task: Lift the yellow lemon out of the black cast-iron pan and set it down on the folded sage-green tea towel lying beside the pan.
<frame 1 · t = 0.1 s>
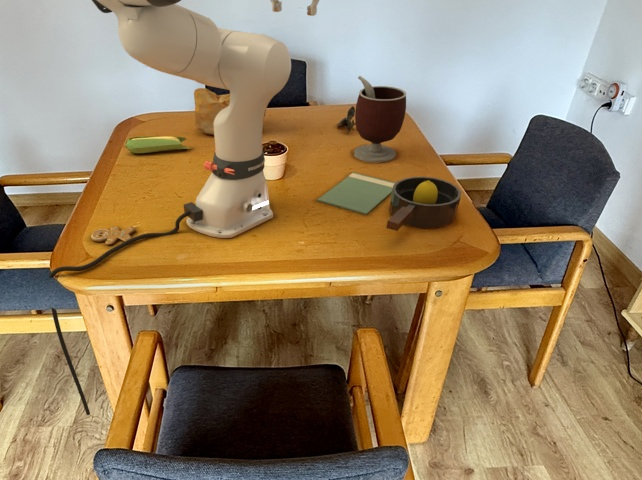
hand: (294, 13, 122), 39 cm above the table, tool pointing down, fingers open, 8 cm apart
edible corn: (159, 152, 164), on the table
pan: (421, 213, 130), on the table
rough brown rock: (232, 129, 177), on the table
tea towel: (359, 193, 139), on the table
cookie: (113, 237, 125), on the table
mate gourd: (372, 154, 159), on the table
eagle figurine: (347, 130, 174), on the table
lemon: (421, 212, 130), resting on pan
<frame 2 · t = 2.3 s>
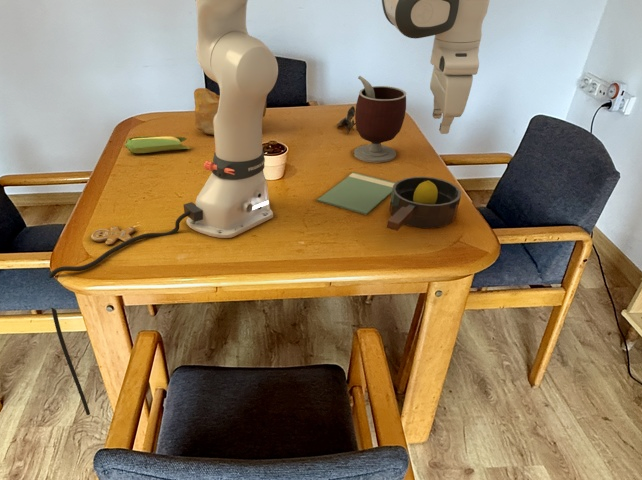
hand: (440, 125, 116), 21 cm above the table, tool pointing down, fingers open, 8 cm apart
nothing on the table moved.
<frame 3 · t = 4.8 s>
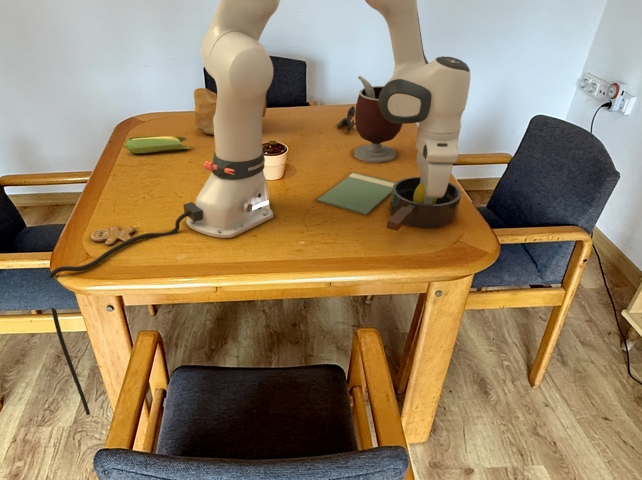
hand: (424, 198, 128), 4 cm above the table, tool pointing down, fingers closed on lemon, 5 cm apart
lemon: (421, 212, 130), resting on pan, touching gripper
everything else where it was.
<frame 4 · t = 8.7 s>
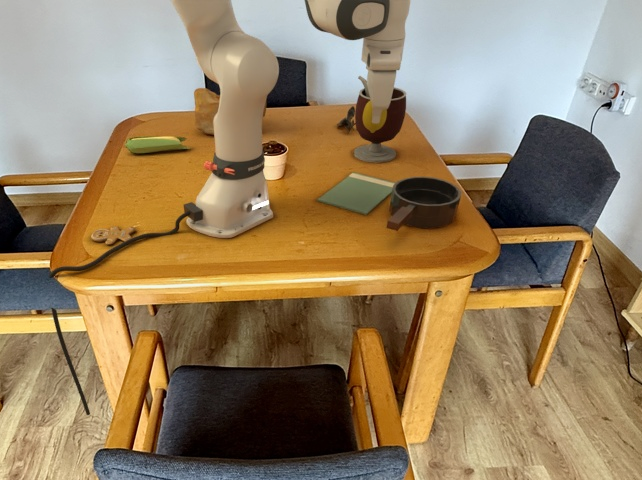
hand: (374, 117, 125), 19 cm above the table, tool pointing down, fingers closed on lemon, 5 cm apart
lemon: (372, 133, 128), point 16 cm above the table, touching gripper
everything else where it was.
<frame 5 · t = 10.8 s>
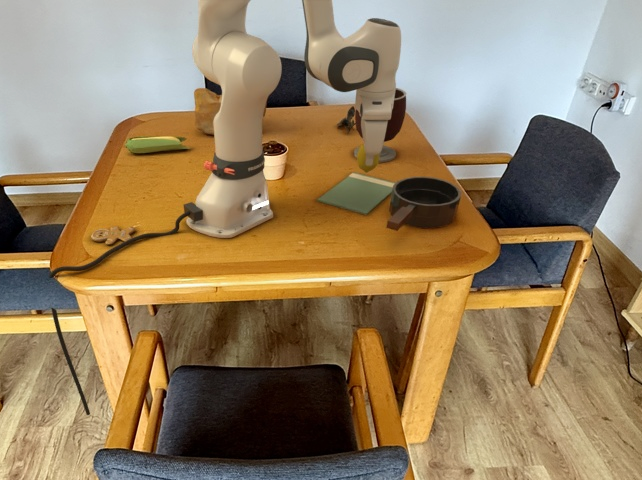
hand: (367, 159, 133), 9 cm above the table, tool pointing down, fingers closed on lemon, 5 cm apart
lemon: (366, 173, 135), point 6 cm above the table, touching gripper
everything else where it was.
when the fingers open (4 cm above the table, at t = 12.6 s): lemon stays where it is, resting on tea towel.
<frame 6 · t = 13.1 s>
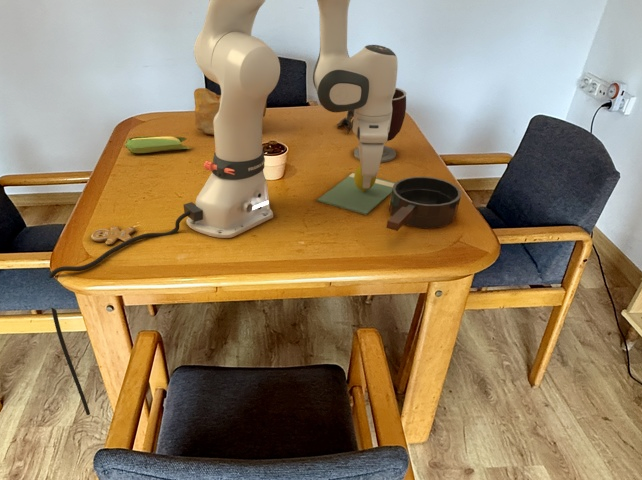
hand: (364, 179, 136), 4 cm above the table, tool pointing down, fingers open, 8 cm apart
lemon: (363, 192, 139), resting on tea towel
everything else where it was.
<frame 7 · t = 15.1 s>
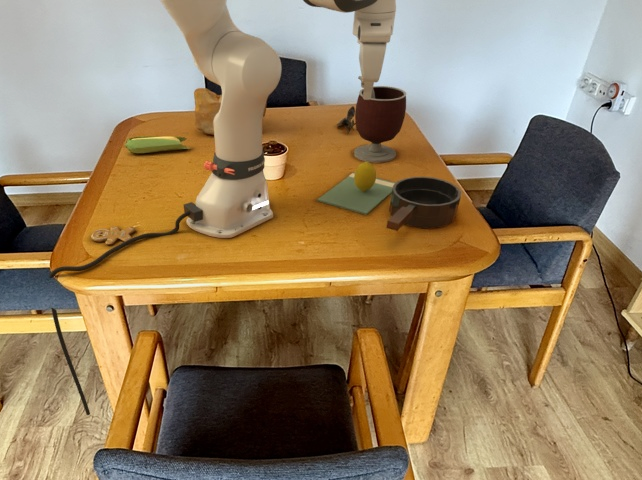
hand: (365, 92, 126), 24 cm above the table, tool pointing down, fingers open, 8 cm apart
nothing on the table moved.
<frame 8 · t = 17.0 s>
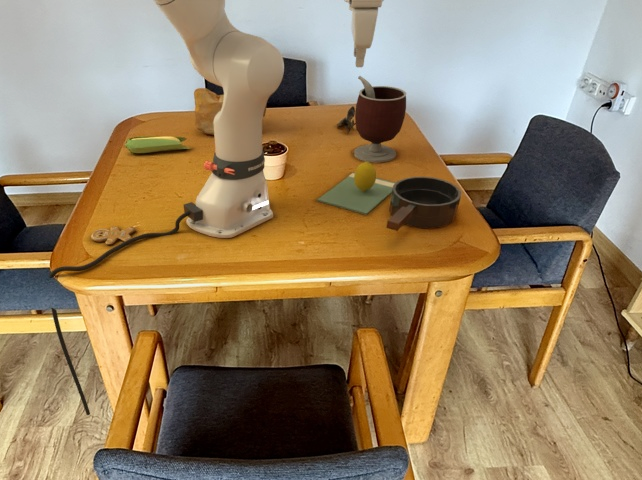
hand: (358, 61, 126), 29 cm above the table, tool pointing down, fingers open, 8 cm apart
nothing on the table moved.
at the end: lemon inside the target area on the tea towel (0.9 cm from its centre), point 0.3 cm above the tea towel's base; lemon touching tea towel; the gripper is holding nothing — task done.
